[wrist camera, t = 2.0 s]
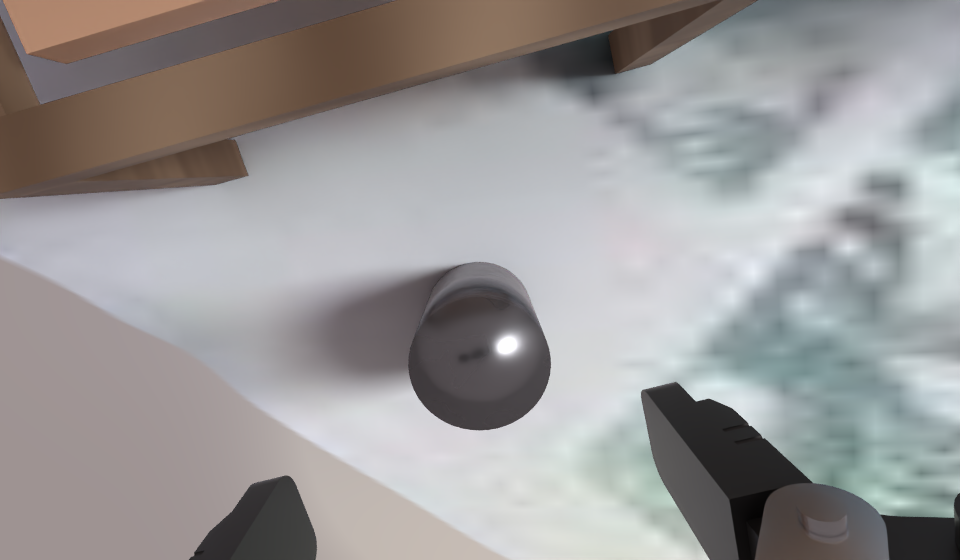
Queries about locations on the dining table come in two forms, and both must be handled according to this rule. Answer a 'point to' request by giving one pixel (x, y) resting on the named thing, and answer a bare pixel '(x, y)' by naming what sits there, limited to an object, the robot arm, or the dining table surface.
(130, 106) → the trapdoor frame
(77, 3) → the trapdoor
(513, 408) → the cylinder
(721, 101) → the dining table surface
